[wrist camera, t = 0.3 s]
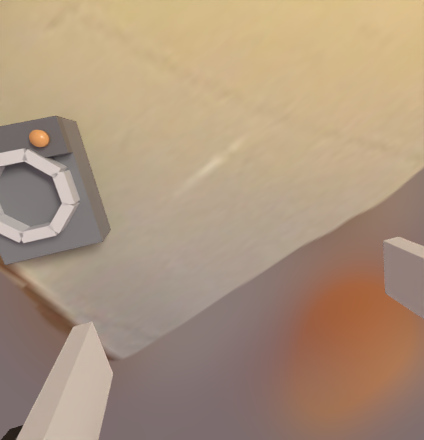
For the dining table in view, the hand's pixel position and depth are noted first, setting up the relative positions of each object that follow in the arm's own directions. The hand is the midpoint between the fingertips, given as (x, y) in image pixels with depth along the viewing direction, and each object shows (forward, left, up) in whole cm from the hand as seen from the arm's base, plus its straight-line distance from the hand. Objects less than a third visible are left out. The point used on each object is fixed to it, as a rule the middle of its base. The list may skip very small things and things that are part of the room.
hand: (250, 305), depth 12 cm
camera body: (-5, -17, -27) cm, 33 cm away
